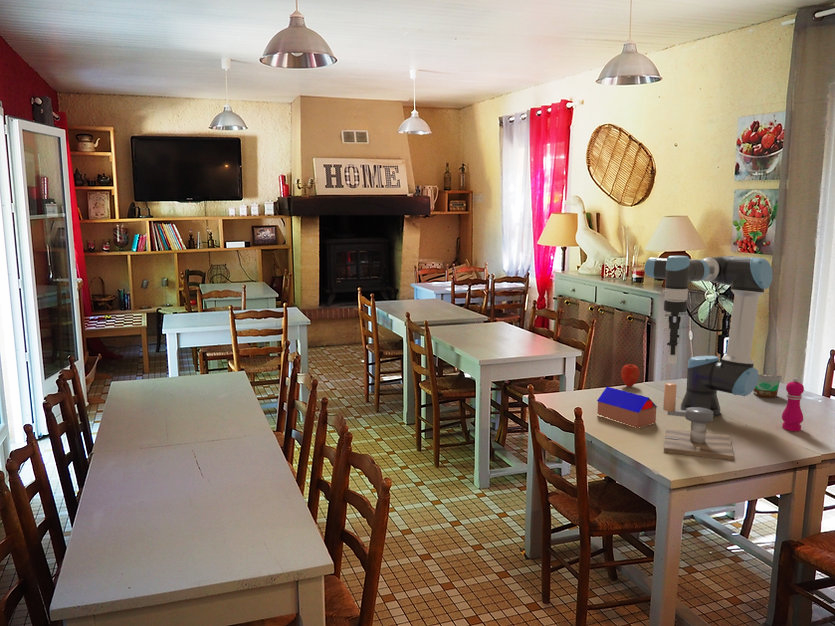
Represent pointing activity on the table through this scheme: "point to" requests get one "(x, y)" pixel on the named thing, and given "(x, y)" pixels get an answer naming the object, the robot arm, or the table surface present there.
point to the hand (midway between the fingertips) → (672, 359)
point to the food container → (767, 386)
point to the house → (627, 407)
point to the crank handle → (691, 413)
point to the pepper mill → (793, 407)
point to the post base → (706, 449)
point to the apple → (630, 374)
